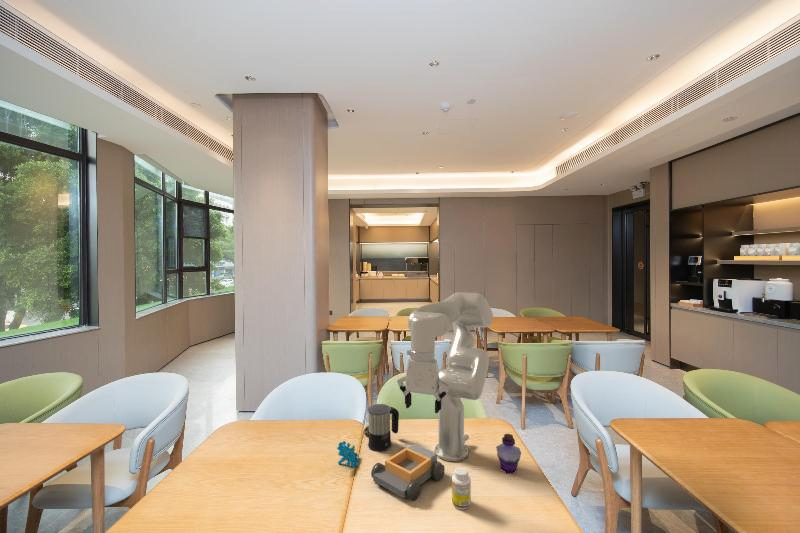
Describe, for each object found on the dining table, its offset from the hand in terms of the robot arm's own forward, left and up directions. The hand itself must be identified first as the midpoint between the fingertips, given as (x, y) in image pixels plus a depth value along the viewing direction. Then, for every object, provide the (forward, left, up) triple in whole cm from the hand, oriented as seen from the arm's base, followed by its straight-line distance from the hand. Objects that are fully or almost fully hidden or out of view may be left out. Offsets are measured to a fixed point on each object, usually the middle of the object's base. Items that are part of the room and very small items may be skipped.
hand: (422, 409), depth 116 cm
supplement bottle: (-2, +13, -26) cm, 29 cm away
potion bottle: (-28, +16, -26) cm, 42 cm away
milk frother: (-12, -33, -27) cm, 44 cm away
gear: (+6, -29, -27) cm, 40 cm away
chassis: (-1, -7, -26) cm, 27 cm away
